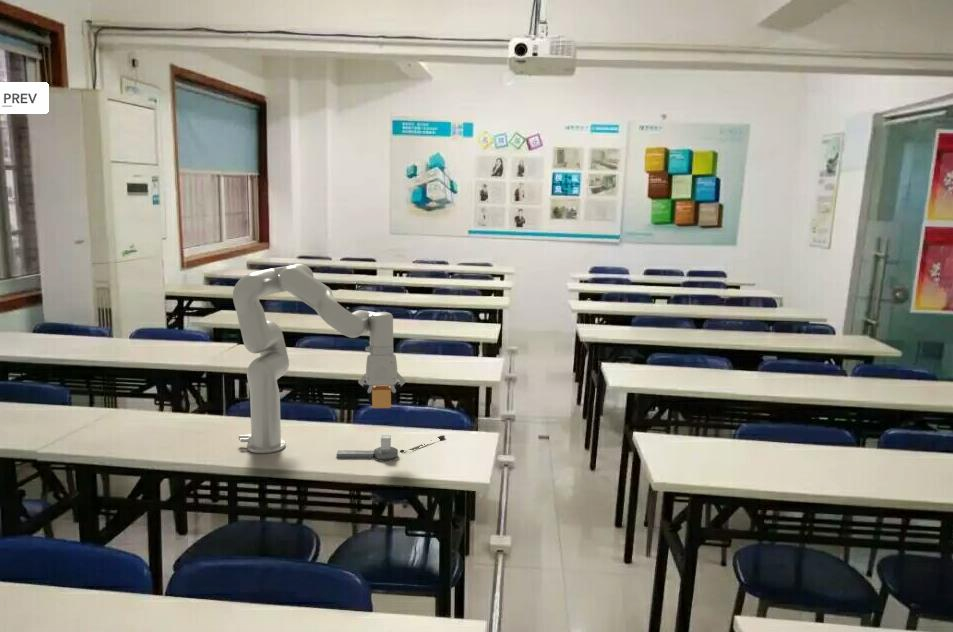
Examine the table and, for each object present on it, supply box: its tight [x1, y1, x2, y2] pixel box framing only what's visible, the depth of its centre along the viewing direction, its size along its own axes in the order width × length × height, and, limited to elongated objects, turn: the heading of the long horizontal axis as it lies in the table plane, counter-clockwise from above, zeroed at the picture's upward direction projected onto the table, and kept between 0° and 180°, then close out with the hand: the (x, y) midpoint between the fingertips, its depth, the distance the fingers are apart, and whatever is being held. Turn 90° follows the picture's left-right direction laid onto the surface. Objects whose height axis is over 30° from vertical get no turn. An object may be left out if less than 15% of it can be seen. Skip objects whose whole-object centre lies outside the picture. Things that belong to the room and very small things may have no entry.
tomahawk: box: [399, 435, 446, 453], centre depth 232 cm, size 21×7×1 cm, turn 139°
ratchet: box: [336, 434, 399, 462], centre depth 221 cm, size 20×8×7 cm, turn 94°
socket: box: [371, 386, 392, 409], centre depth 220 cm, size 6×6×6 cm
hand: (382, 403), depth 220 cm, fingers closed on socket, 6 cm apart
